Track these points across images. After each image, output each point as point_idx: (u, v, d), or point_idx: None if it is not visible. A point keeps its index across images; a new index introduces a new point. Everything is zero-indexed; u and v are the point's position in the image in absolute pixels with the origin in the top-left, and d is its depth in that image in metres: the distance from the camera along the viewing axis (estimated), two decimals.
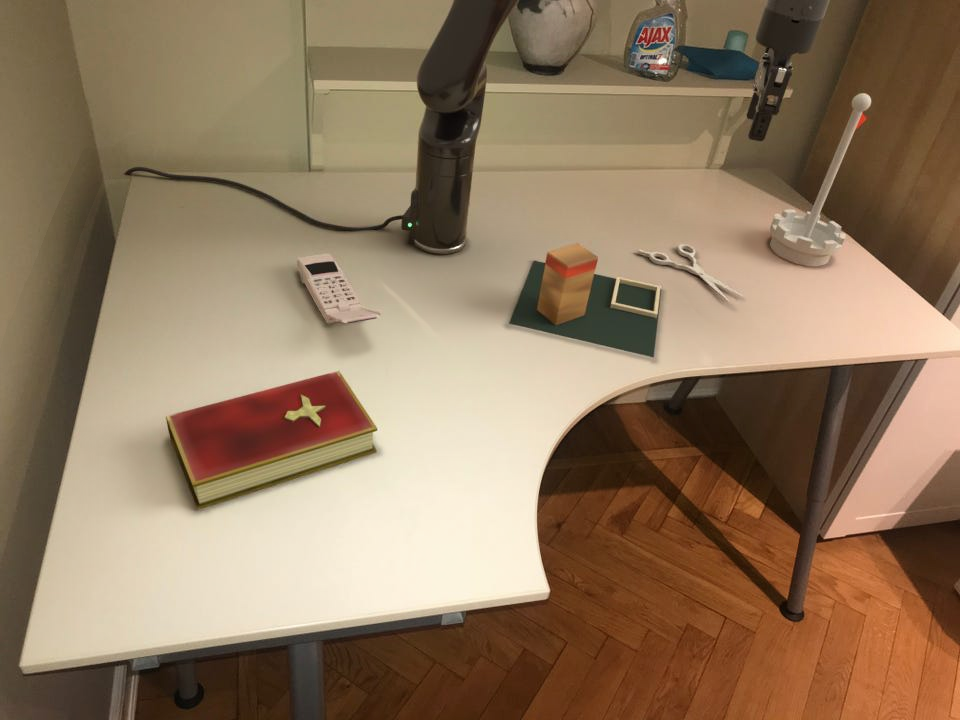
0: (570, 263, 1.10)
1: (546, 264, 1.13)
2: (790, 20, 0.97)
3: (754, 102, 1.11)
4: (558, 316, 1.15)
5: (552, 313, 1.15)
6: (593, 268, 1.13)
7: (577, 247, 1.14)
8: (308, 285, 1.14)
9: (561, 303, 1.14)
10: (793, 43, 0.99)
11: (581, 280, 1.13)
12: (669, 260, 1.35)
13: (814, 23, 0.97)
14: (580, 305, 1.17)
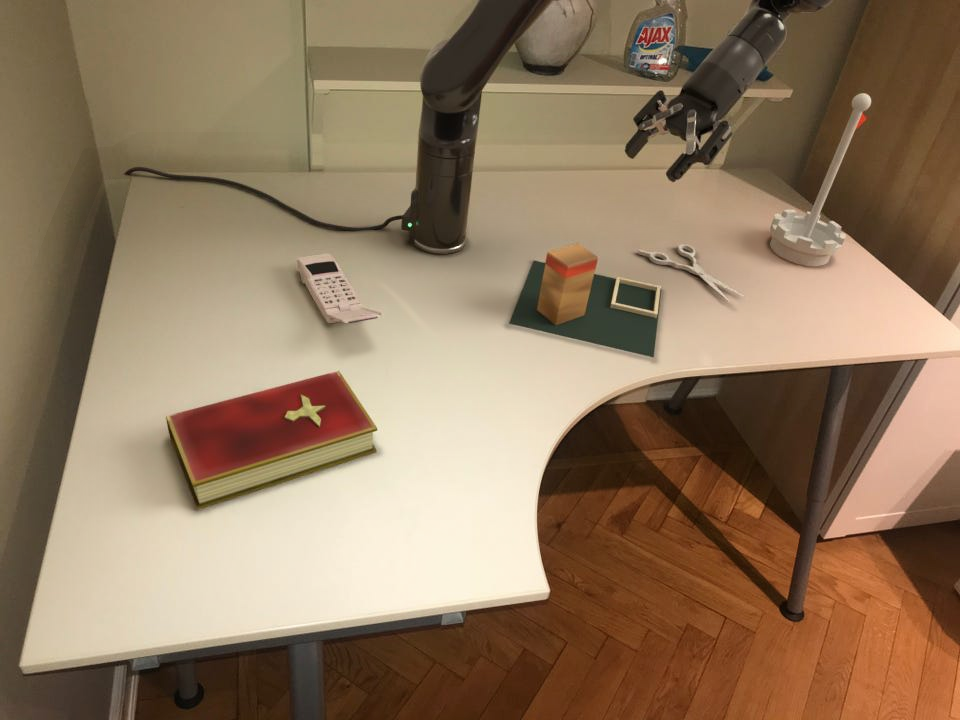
0: (570, 263, 1.10)
1: (546, 264, 1.13)
2: (738, 88, 1.07)
3: (639, 140, 1.13)
4: (558, 316, 1.15)
5: (552, 313, 1.15)
6: (593, 268, 1.13)
7: (577, 247, 1.14)
8: (308, 285, 1.14)
9: (561, 303, 1.14)
10: (727, 108, 1.08)
11: (581, 280, 1.13)
12: (669, 260, 1.35)
13: None
14: (580, 305, 1.17)
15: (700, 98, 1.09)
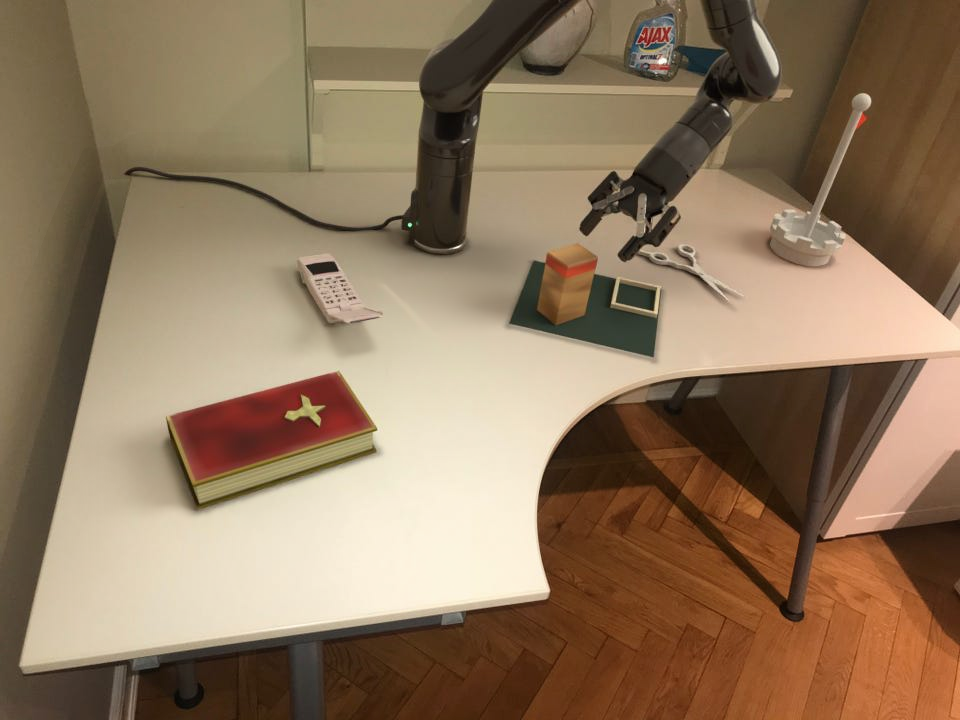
0: (570, 263, 1.10)
1: (546, 264, 1.13)
2: (686, 174, 1.12)
3: (592, 219, 1.17)
4: (558, 316, 1.15)
5: (552, 313, 1.15)
6: (593, 268, 1.13)
7: (577, 247, 1.14)
8: (309, 285, 1.14)
9: (561, 303, 1.14)
10: (676, 192, 1.13)
11: (581, 280, 1.13)
12: (669, 260, 1.35)
13: None
14: (580, 305, 1.17)
15: (650, 182, 1.13)
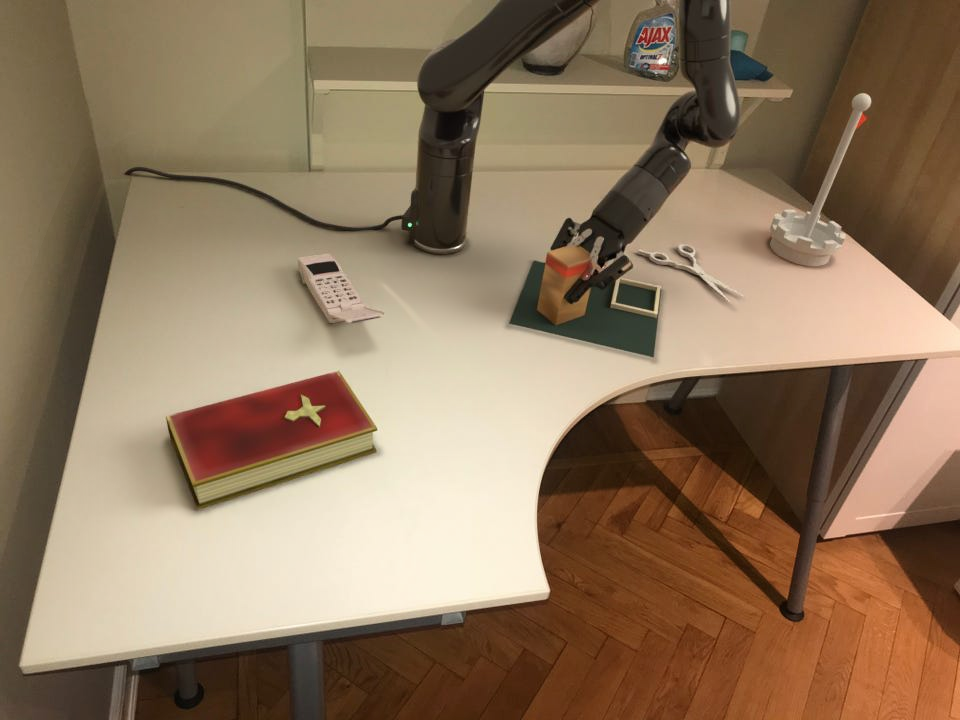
0: (570, 263, 1.10)
1: (546, 264, 1.13)
2: (643, 217, 1.11)
3: None
4: (558, 316, 1.15)
5: (552, 313, 1.15)
6: None
7: (577, 247, 1.14)
8: (310, 285, 1.14)
9: (561, 303, 1.14)
10: (634, 235, 1.12)
11: None
12: (669, 260, 1.35)
13: None
14: (580, 305, 1.17)
15: (608, 225, 1.13)
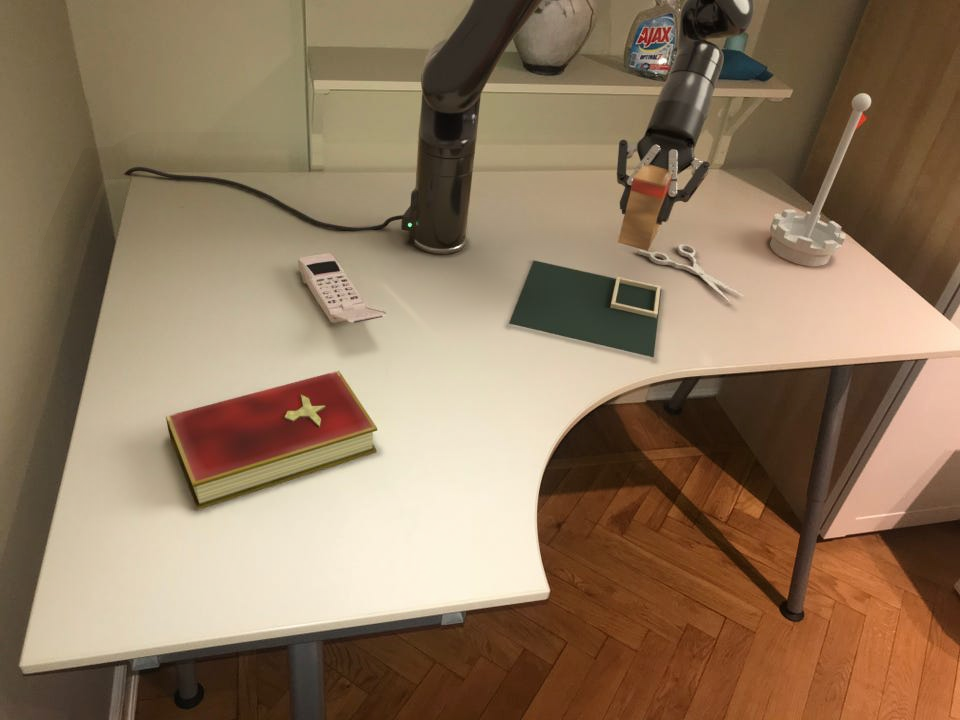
0: (663, 182, 1.07)
1: (631, 190, 1.08)
2: (703, 120, 1.11)
3: None
4: (650, 241, 1.11)
5: (643, 240, 1.11)
6: None
7: (649, 166, 1.10)
8: (311, 285, 1.14)
9: (654, 226, 1.10)
10: None
11: None
12: (669, 260, 1.35)
13: None
14: (658, 225, 1.14)
15: (673, 137, 1.10)
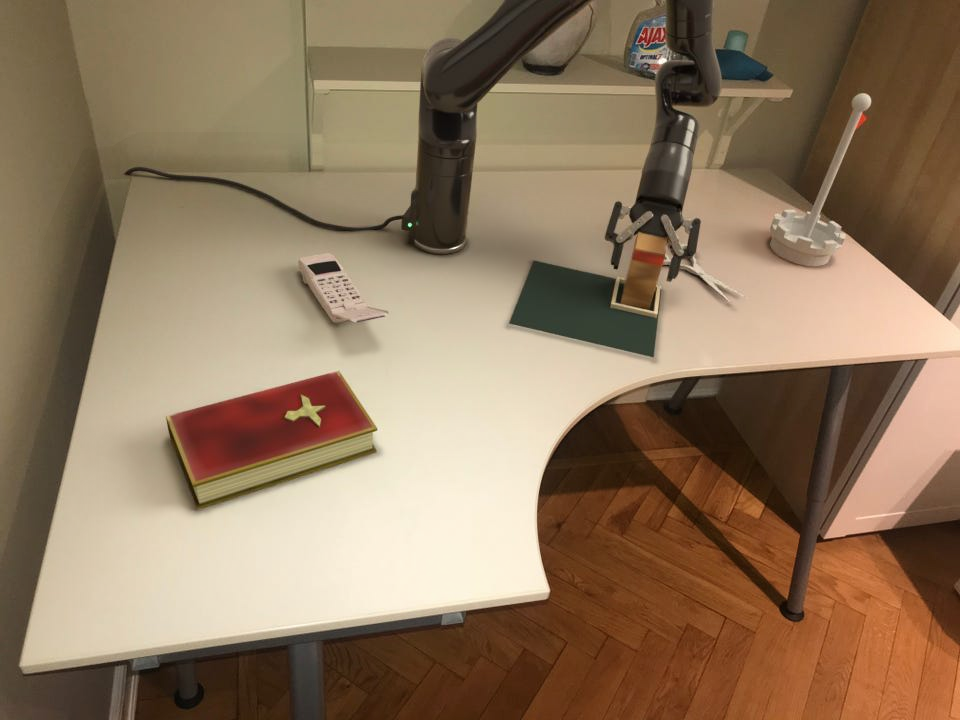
0: (662, 250, 1.16)
1: (633, 260, 1.17)
2: None
3: (621, 252, 1.20)
4: None
5: (644, 302, 1.21)
6: None
7: (644, 234, 1.20)
8: (312, 285, 1.14)
9: (654, 289, 1.20)
10: None
11: None
12: (669, 260, 1.35)
13: None
14: None
15: (663, 203, 1.20)
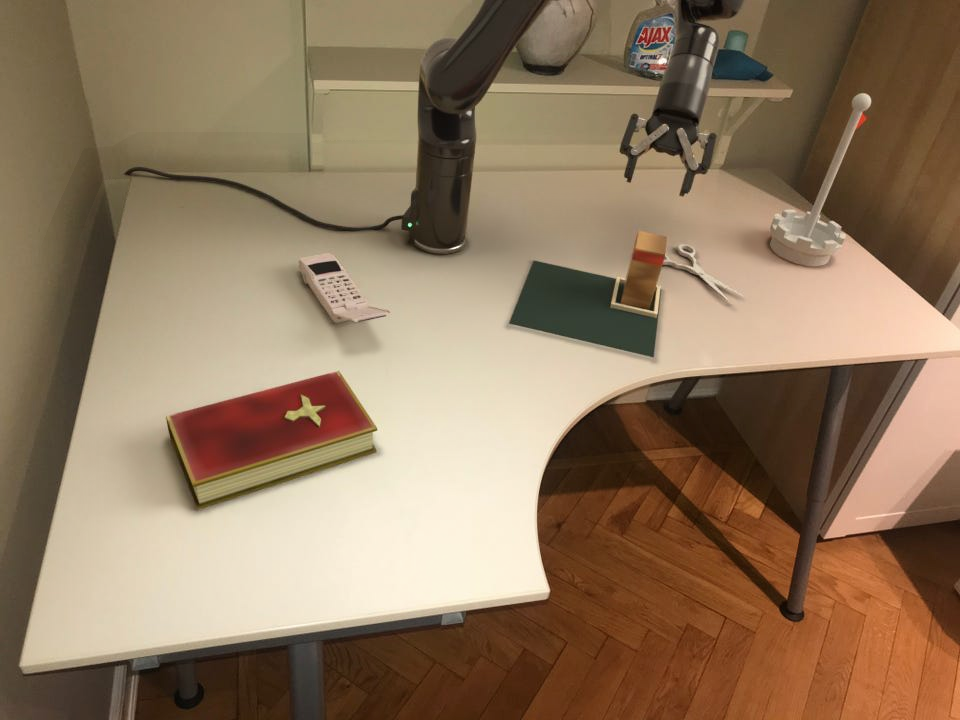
0: (662, 250, 1.16)
1: (633, 260, 1.17)
2: (705, 100, 1.20)
3: (635, 165, 1.20)
4: None
5: (644, 302, 1.21)
6: None
7: (644, 234, 1.20)
8: (312, 285, 1.14)
9: (654, 289, 1.20)
10: None
11: None
12: (669, 260, 1.35)
13: None
14: None
15: (679, 116, 1.19)
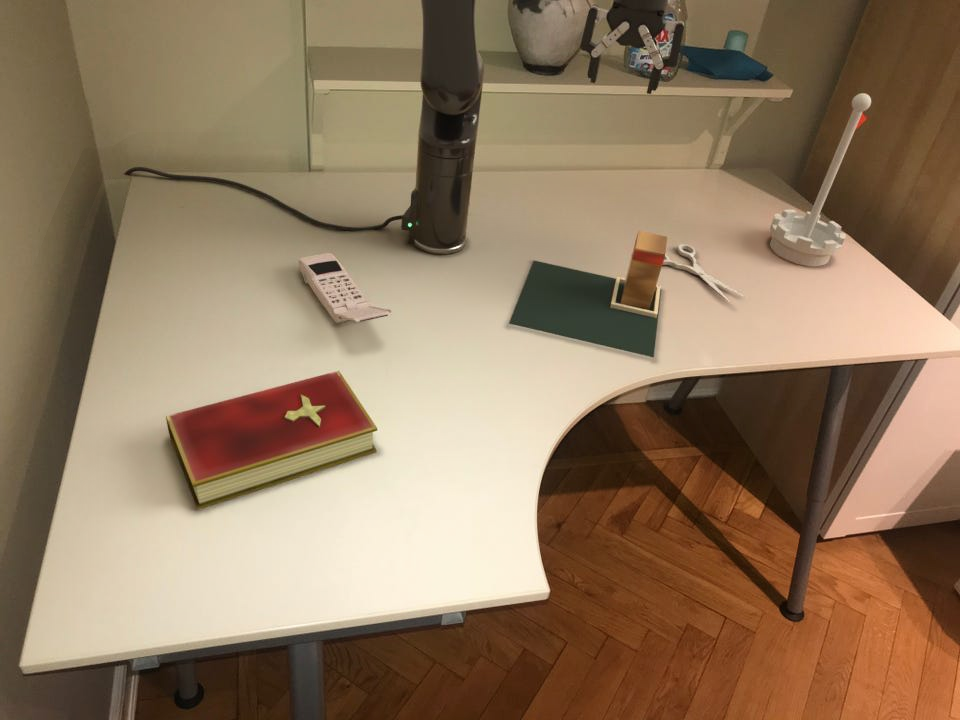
0: (662, 250, 1.16)
1: (633, 260, 1.17)
2: None
3: (598, 66, 1.14)
4: None
5: (644, 302, 1.21)
6: None
7: (644, 234, 1.20)
8: (313, 285, 1.14)
9: (654, 289, 1.20)
10: None
11: None
12: (669, 260, 1.35)
13: None
14: None
15: None
